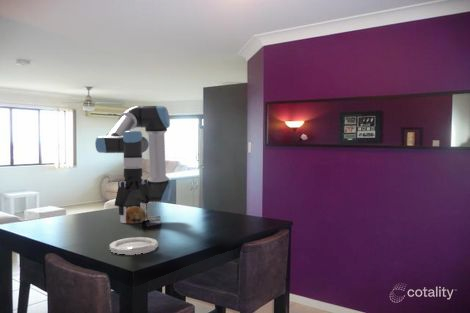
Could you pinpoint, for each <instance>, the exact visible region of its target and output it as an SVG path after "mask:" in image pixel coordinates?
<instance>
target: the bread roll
mask: <svg viewBox="0 0 470 313" xmlns="http://www.w3.org/2000/svg"><path fill="white" fill-rule="evenodd" d="M145 219H146V213H145V211H144V210H143V209H142V208H140V207H137V206H132V207H128V208H127V209H126V223H125V224H141V223H140V222H142V223H144V222H143V221H144V220H145Z"/></svg>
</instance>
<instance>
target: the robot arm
mask: <svg viewBox="0 0 470 313" xmlns="http://www.w3.org/2000/svg"><path fill="white" fill-rule="evenodd" d="M170 122H171V121H170V115H169V111H168V109H167V107H166V106H164V105H135V106H133V107H130V108H128V109H126V110H124V112H122V113H121V114H120V115H119V117H118V121H117V122H116V123H115V124H114V126H112V128H111V129H110V131H109V132H108V133H107V134H106V135H100V136H97V137H96V138H95V150H96V151H97V152H98V153H100V154H123V167H124V168H123V178H124V180H123V181H118V182H117V192H116V196H115V200H114V204H113V205H114V207H118V215H119V217H120V218H119V219H120V221H119V222H120V223H121V224H127V223H126V209H127V208H128V207H132V206H137V207H140V208H142V209H143V210H144V211H145V213H146V218H148V219H149V215H148V212H147V210H148V204H149V203H167V202H169V200H170V198H171V194H172V188H173V187H172V185H173V184H172V183H173V182H172V181H169V177H168V176H167V174H166V147H165V146H166V145H165V144H166V143H165V133H166V132H167V131H168V128H170V126H171V123H170ZM135 128H144V129H145V133H147V136H148V138H146V137H145V136H143V133H142V131H141V130H134V129H135ZM146 151H148V153H149V154H148V156H149V158H148V159H149V177H148V178H147V179H145V178H142V177H143V168H142V167H143V153H144V152H146ZM142 223H143V222H140V223H139V224H142Z"/></svg>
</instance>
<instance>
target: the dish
mask: <svg viewBox="0 0 470 313" xmlns="http://www.w3.org/2000/svg"><path fill="white" fill-rule="evenodd" d="M158 245H159V242H158V240H156V239H154V238H151V237H147V236H145V237H143V236H142V237H141V236H136V237H125V238H121V239H118V240H115V241H112V242H111V243H110V244H109V251H110V250H111V251H110V253H111V252H113V253H112V254H115V253H117V254H116V255H119V254H125V255H124V256H135V254H136V255H141V253H143V254H146V253H150V252H153V251H155V250H156V249H157V248H158V247H159V246H158Z"/></svg>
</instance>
